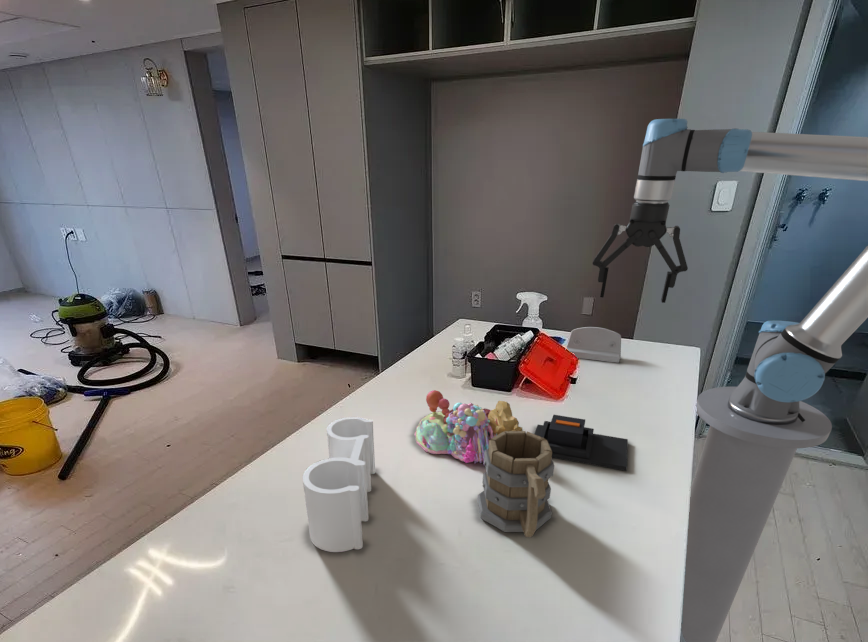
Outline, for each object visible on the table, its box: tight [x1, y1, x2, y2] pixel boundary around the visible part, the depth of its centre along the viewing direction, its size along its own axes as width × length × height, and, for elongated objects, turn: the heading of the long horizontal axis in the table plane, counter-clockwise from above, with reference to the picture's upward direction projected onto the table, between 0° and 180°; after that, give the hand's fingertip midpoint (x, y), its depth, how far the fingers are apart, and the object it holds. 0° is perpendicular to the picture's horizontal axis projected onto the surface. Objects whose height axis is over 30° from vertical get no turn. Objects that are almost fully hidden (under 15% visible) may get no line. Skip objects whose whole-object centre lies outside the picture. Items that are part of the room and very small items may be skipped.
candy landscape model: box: [414, 389, 523, 466], centre depth 114 cm, size 25×24×9 cm
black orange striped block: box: [547, 414, 586, 449], centre depth 112 cm, size 7×7×5 cm
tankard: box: [477, 430, 555, 538], centre depth 87 cm, size 20×13×15 cm, turn 1°
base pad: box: [534, 420, 629, 472], centre depth 112 cm, size 20×12×2 cm, turn 69°
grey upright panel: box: [565, 326, 622, 364], centre depth 159 cm, size 17×5×10 cm, turn 70°
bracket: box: [302, 416, 376, 553], centre depth 92 cm, size 25×10×12 cm, turn 177°
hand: (632, 298), depth 121 cm, fingers open, 13 cm apart
